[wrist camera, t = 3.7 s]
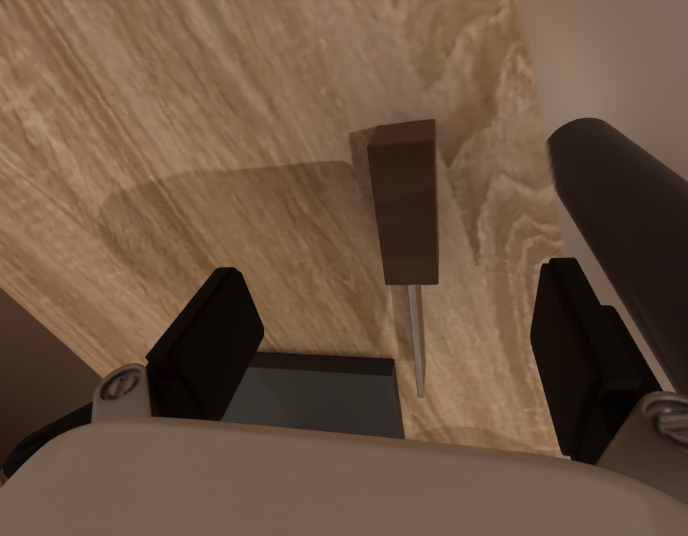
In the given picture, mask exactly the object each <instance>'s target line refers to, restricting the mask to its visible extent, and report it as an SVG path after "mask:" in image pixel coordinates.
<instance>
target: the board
mask: <svg viewBox="0 0 688 536" xmlns="http://www.w3.org/2000/svg"><path fill="white" fill-rule="evenodd" d="M219 422H229V423H240V424H251V425H262V426H273V427H284V428H294V429H305V430H315V431H325V432H336V433H346V434H356V435H366V436H376V437H386V438H396V439H405V436H404V429H403V422H402V414H401V407H400V400H399V392H398V385H397V378H396V371H395V363H394V360H391V359H372V358H353V357H334V356H314V355H295V354H276V353H257V352H256V353H255V355H254V357H253V359H252V361H251V363H250V365H249V367H248V369H247V371H246V373H245V375H244V377H243V379H242V381H241V383H240V385H239V386H238V388H237V390H236V392H235V394H234V396H233V398H232V400H231V402H230V404H229V406H228V408H227V410H226V412H225V414H224V416H223V418H222V419H221V420H220V421H219Z"/></svg>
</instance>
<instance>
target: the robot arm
mask: <svg viewBox="0 0 688 536" xmlns="http://www.w3.org/2000/svg"><path fill="white" fill-rule="evenodd" d="M263 336H264V326H263V324H262V321H261V319H260V316H259V314H258V312H257V309H256V307H255V304H254V302H253V299H252V297H251V295H250V292H249V290H248V287H247V285H246V282H245V280H244V278H243V275H242V273H241V272H240V271H237V269H236V268H234V267H219V268H217V269H215V271H214V272H213V273H212V274H211V276H210V277H209V278H208V279H207V281H206V282H205V283H204V284H203V286H202V287H201V288H200V289H199V291H198V292H197V293H196V294H195V296H194V297H193V298H192V299H191V300H190V302H189V303H188V304H187V305H186V307H185V308H184V309H183V310H182V312H181V313H180V314H179V315H178V317H177V318H176V319H175V320H174V322H173V323H172V324H171V325H170V327H169V328H168V329H167V330H166V332H165V333H164V334H163V335H162V337H161V338H160V339H159V340H158V342H157V343H156V344H155V345H154V347H153V348H152V349H151V350H150V352H149V353H148V354H147V355H146V357H145V358H146V359H147V360H148V362H149V363H148V364H147V365H146V367H145V366H143V365H142V364H138V363H133V364H127V365H125V366H122V367H120V368H118V369H116V370H114V371H112V372H111V373H110V374H108V375H107V376H106V377H105V378H104V379H103V380H102V381H101V382H100V383H99V385H98V386H97V388H96V389H95V392H94V396H93V401H92V402H90V403H89V404H87V405H85V406H83V407H81V408H79V409H77V410H75V411H74V412H71V413H70V414H68V415H66V416H64V417H62V418H60V419H58V420H56V421H54V422H53V423H51V424H49V425H47V426H45V427H43V428H41V429H39V430H38V431H36V432H34V433H32V434H31V435H29V436H28V437H26V438H25V439H23V440H22V441H21V442H20V443H19V444H18V445H17V446H16V447H15V448H14V449H13V450H12V451H11V453H10V454H9V456H8V457H7V459H6V460H5V463H4V466H3V470H2V471H0V536H688V396H686V395H683V394H679V393H673V392H669V391H663V390H662V388H661V387H660V384H659V383H658V381H657V379H656V378H655V376H654V374H653V372H652V371H651V369H650V367H649V365H648V364H647V362H646V360H645V359H644V357H643V355H642V353H641V352H640V350H639V348H638V347H637V345H636V343H635V341H634V340H633V338H632V337H631V335H630V333H629V331H628V329H627V327H626V326H625V324H624V322H623V321H622V319H621V317H620V315H619V314H618V312H617V311H616V309H615V308H614V307H612V306H611V305H601V304H600V302H599V300H598V298H597V297H596V295H595V293H594V291H593V289H592V287H591V285H590V284H589V282H588V280H587V278H586V276H585V274H584V272H583V271H582V269H581V267H580V265H579V263H578V261H577V260H576V259H575V258H551V259H550V261H549V263H544V264H542V266H541V271H540V277H539V283H538V289H537V295H536V301H535V308H534V314H533V320H532V326H531V332H530V339H531V345H532V349H533V353H534V356H535V360H536V363H537V367H538V371H539V374H540V378H541V381H542V385H543V389H544V392H545V396H546V399H547V403H548V407H549V410H550V414H551V418H552V421H553V425H554V428H555V432H556V436H557V439H558V443H559V446H560V450H561V452H562V454H563V455H566V456H570V458H571V460H568V459H563V458H557V457H550V456H544V455H538V454H531V453H524V452H515V451H507V450H498V449H490V448H481V447H473V446H464V445H455V444H445V443H435V442H426V441H416V440H406V439H396V438H386V437H376V436H366V435H356V434H346V433H336V432H325V431H315V430H305V429H294V428H284V427H273V426H262V425H251V424H240V423H229V422H219V421H220V420H221V419H222V418H223V416H224V414H225V412H226V410H227V408H228V406H229V404H230V402H231V400H232V398H233V396H234V394H235V392H236V390H237V388H238V386H239V385H240V383H241V381H242V379H243V377H244V375H245V373H246V371H247V369H248V367H249V365H250V363H251V361H252V359H253V357H254V355H255V353H256V351H257V349H258V347H259V345H260V343H261V341H262V339H263Z"/></svg>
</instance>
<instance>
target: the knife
mask: <svg viewBox="0 0 688 536" xmlns="http://www.w3.org/2000/svg"><path fill="white" fill-rule="evenodd" d="M367 150H368V158H369V165H370V173H371V180H372V188H373V195H374V203H375V210H376V218H377V225H378V233H379V240H380V247H381V255H382V262H383V270H384V277H385V284H386V285H408V296H409V307H410V318H411V329H412V340H413V351H414V362H415V373H416V384H417V395H418V397H420V398H424V388H425V366H426V358H425V343H424V327H423V312H422V297H421V285H438V284H439V235H438V201H437V166H436V132H435V119H432V120H424V121H416V122H408V123H400V124H392V125H383V126H378V127H377V128H376V130H375V132H374V134H373V136H372V138H371V140H370V142H369V144H368V146H367Z"/></svg>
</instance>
